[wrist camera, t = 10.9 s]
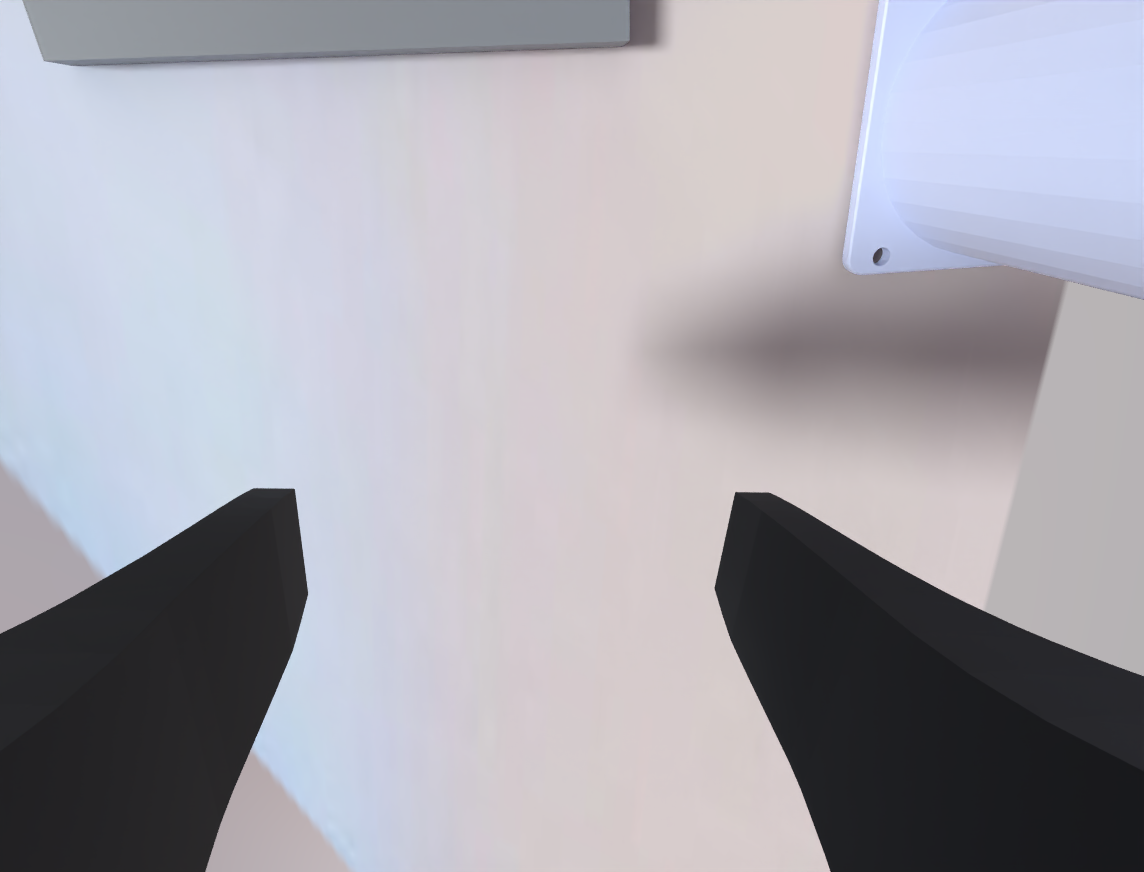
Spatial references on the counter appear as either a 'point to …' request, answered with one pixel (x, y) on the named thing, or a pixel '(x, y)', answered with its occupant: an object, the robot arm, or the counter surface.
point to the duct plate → (314, 28)
